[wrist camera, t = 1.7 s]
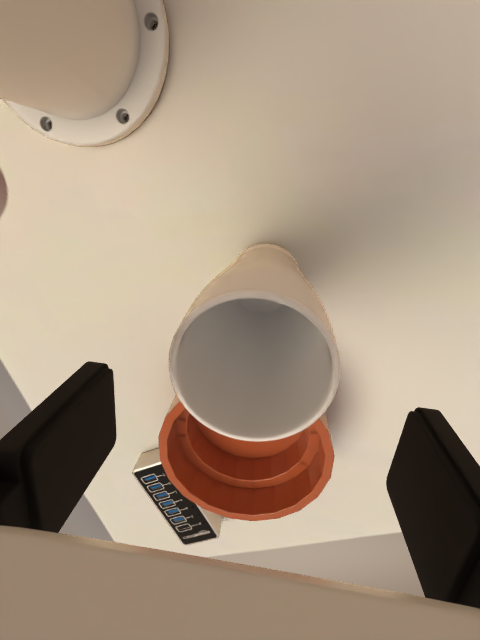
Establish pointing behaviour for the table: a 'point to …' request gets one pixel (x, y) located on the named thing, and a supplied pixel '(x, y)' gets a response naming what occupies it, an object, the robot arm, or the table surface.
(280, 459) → the bowl
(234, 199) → the table surface
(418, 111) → the table surface
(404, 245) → the table surface
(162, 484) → the multiport hub
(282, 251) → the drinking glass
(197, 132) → the table surface
